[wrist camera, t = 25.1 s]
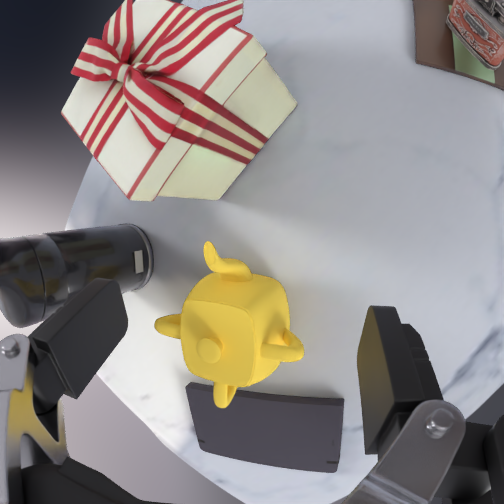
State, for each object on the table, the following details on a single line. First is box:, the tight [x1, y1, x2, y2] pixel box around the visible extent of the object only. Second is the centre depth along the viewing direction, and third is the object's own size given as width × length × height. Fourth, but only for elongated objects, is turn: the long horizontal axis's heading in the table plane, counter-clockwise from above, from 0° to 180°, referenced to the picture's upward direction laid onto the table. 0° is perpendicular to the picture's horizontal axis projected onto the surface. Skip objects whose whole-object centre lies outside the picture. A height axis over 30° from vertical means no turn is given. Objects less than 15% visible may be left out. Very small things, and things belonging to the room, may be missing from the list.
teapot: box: [154, 241, 304, 408], centre depth 31 cm, size 14×13×10 cm
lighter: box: [446, 0, 504, 70], centre depth 16 cm, size 8×3×10 cm, turn 36°
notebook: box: [185, 382, 344, 473], centre depth 36 cm, size 13×2×21 cm
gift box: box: [61, 0, 297, 201], centre depth 25 cm, size 17×18×17 cm
